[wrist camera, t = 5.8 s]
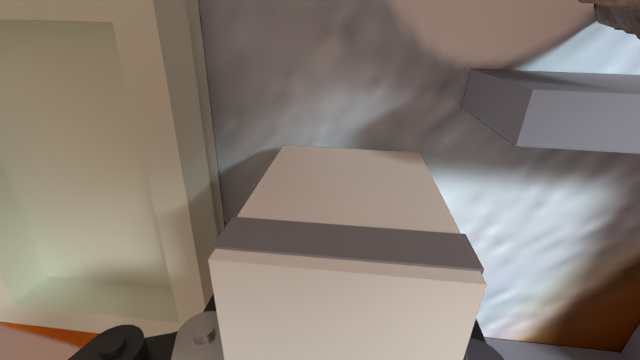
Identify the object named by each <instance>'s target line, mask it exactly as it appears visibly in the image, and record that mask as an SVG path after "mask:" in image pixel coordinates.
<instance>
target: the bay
mask: <svg viewBox="0 0 640 360" xmlns="http://www.w3.org/2000/svg"><path fill="white" fill-rule="evenodd" d="M462 107H463V108H464V109H465V110H467V111H468V112H469V113H471V114H472V115H473V116H475V117H476V118H478V119H479V120H480V121H482V122H483V123H484V124H486V125H487V126H489V127H490V128H491V129H493V130H494V131H495V132H497V133H498V134H500V135H501V136H502V137H504V138H505V139H506V140H508V141H509V142H510V143H512V144H513V145H515V146H517V147H534V148H551V149H568V150H585V151H602V152H619V153H636V154H640V75H619V74H594V73H568V72H542V71H516V70H491V69H470V72H469V77H468V81H467V86H466V90H465V95H464V100H463V104H462ZM484 339H485V341H486V343H487V344H488V345H490V346H491V347H493V348H494V349H495V350H496V351H497V352H498V353H499V354H500V355H501V356H502V357H503V358H504V360H640V323H639V325H638V326H637V328H636V329H635V331H634V333H633V334H632V336H631V337H630V339H629V341H628V342H627V344H626V345H625V347H624V348H623V350H622V352H611V351H602V350H593V349H584V348H575V347H566V346H557V345H548V344H539V343H529V342H520V341H511V340H502V339H493V338H484Z"/></svg>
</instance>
